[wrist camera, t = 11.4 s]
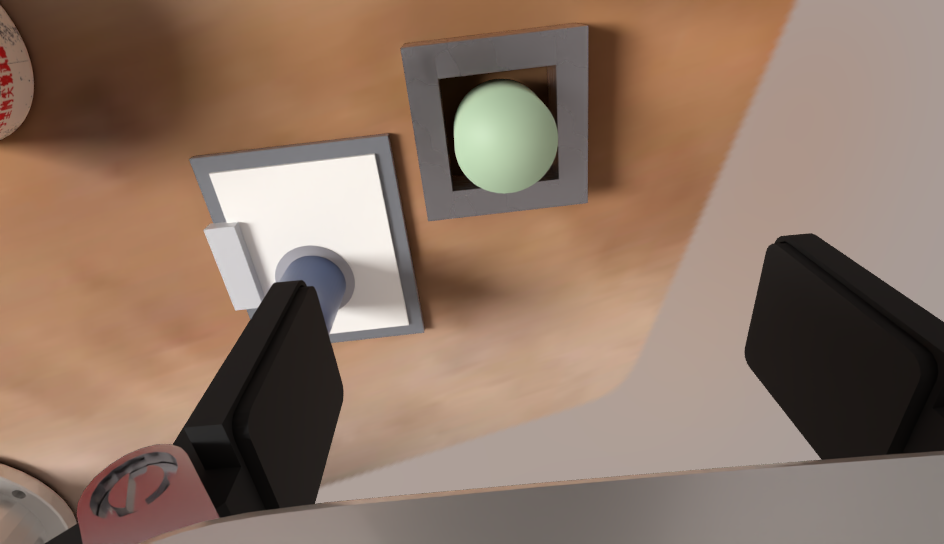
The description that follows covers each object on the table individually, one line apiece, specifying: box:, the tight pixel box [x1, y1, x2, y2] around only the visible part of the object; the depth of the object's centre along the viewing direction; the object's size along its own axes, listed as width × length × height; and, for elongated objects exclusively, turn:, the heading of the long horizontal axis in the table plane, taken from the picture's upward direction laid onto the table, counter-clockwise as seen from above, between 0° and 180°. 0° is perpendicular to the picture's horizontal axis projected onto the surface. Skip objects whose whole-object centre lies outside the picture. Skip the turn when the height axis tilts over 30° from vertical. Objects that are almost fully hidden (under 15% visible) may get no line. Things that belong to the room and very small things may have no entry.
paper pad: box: [189, 133, 425, 343], centre depth 28 cm, size 12×10×1 cm
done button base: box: [401, 23, 588, 221], centre depth 24 cm, size 8×8×2 cm
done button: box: [454, 79, 558, 193], centre depth 23 cm, size 4×4×3 cm
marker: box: [279, 256, 346, 334], centre depth 24 cm, size 4×4×10 cm
